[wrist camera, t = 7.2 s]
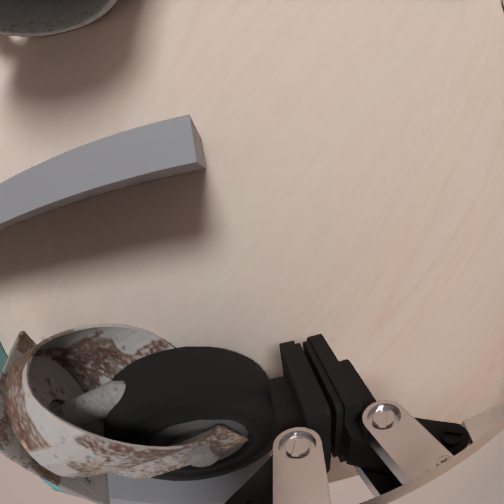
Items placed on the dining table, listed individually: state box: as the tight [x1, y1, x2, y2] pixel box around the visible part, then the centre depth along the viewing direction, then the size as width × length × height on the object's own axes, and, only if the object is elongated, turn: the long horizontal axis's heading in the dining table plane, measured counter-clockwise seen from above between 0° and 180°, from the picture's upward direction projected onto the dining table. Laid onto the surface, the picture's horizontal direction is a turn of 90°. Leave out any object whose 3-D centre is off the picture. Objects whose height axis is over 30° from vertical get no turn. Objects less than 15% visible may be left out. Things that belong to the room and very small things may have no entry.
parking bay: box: [0, 115, 270, 504], centre depth 10 cm, size 16×18×4 cm
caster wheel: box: [0, 324, 280, 504], centre depth 10 cm, size 7×11×10 cm
